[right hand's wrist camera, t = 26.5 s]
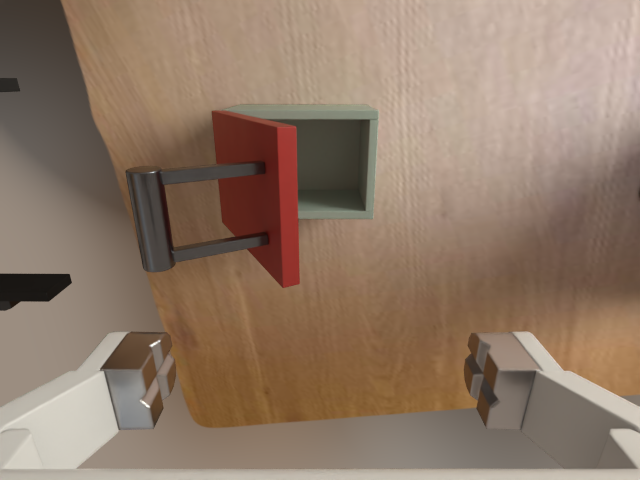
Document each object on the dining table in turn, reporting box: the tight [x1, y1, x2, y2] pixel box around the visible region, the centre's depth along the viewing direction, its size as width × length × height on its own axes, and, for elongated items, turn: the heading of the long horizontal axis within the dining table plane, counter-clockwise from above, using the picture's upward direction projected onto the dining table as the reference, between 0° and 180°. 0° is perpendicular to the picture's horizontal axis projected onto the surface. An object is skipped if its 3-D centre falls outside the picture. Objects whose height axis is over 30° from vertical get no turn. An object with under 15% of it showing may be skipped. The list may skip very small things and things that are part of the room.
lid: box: [126, 110, 299, 288], centre depth 26 cm, size 14×10×8 cm
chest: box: [221, 104, 379, 219], centre depth 38 cm, size 13×10×8 cm
